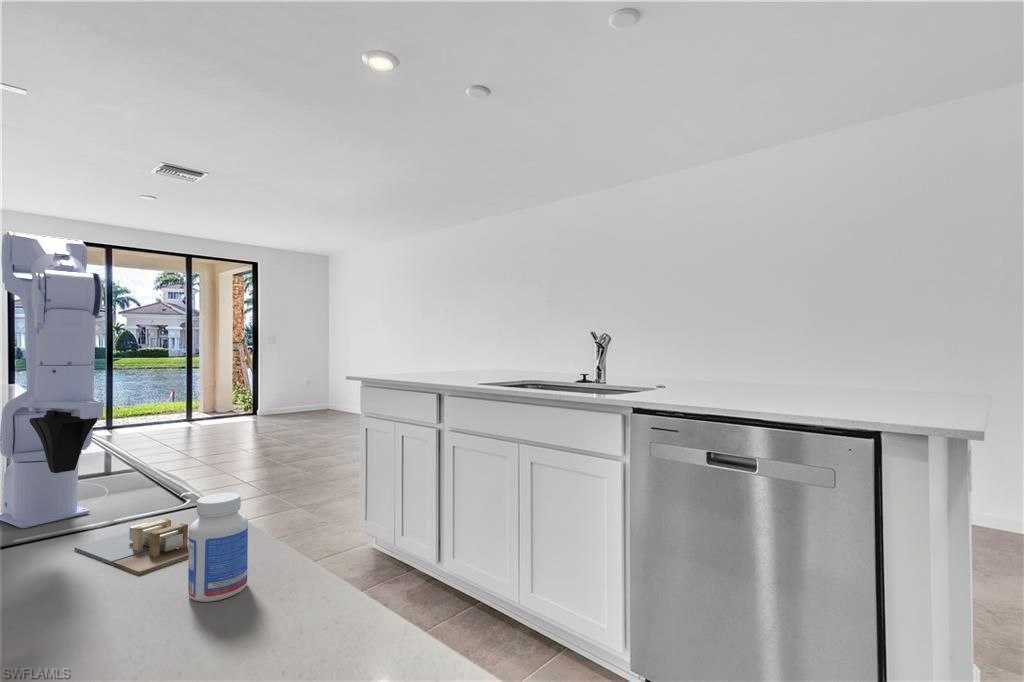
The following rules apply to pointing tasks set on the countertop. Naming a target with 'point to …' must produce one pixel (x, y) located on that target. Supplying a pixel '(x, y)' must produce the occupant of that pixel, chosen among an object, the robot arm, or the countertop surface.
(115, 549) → the door
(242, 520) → the pill bottle
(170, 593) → the countertop surface
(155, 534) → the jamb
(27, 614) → the countertop surface
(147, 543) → the bolt
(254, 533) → the countertop surface
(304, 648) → the countertop surface
